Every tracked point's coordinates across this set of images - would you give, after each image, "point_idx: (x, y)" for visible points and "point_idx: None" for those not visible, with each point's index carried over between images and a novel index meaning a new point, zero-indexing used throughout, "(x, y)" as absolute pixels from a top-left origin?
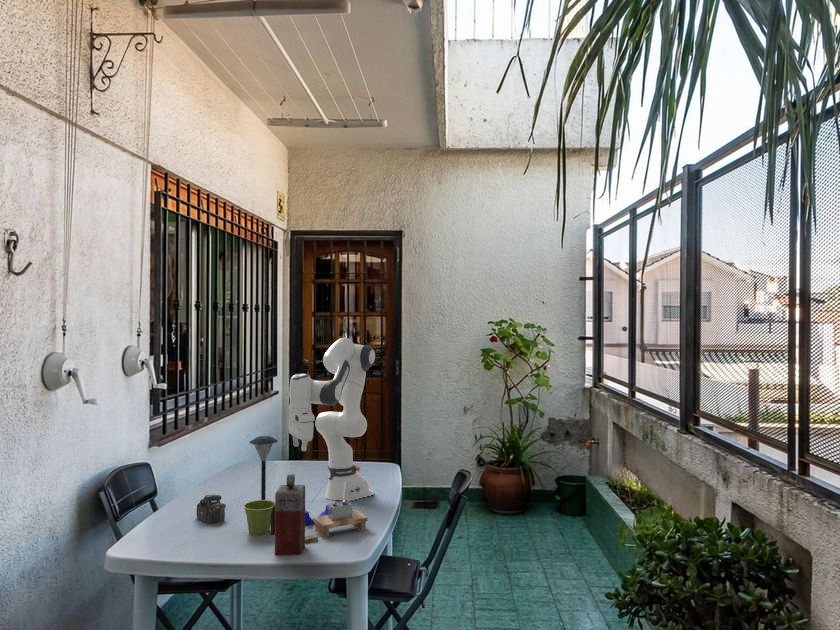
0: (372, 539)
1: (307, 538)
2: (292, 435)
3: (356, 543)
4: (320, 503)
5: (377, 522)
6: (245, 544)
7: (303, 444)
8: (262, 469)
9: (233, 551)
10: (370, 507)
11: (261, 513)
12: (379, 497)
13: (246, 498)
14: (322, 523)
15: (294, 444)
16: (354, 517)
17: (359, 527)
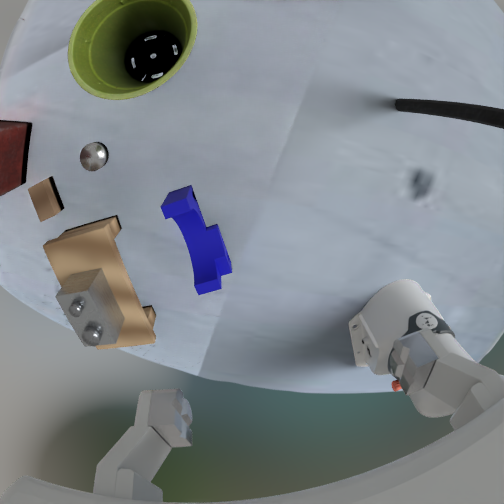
0: None
1: (33, 195)
2: (502, 387)
3: (55, 292)
4: (359, 260)
5: (168, 353)
6: None
7: (116, 454)
8: (483, 108)
9: (64, 14)
10: (273, 357)
11: (81, 53)
12: (328, 374)
13: (466, 90)
14: (56, 246)
15: (411, 348)
16: None
17: None
